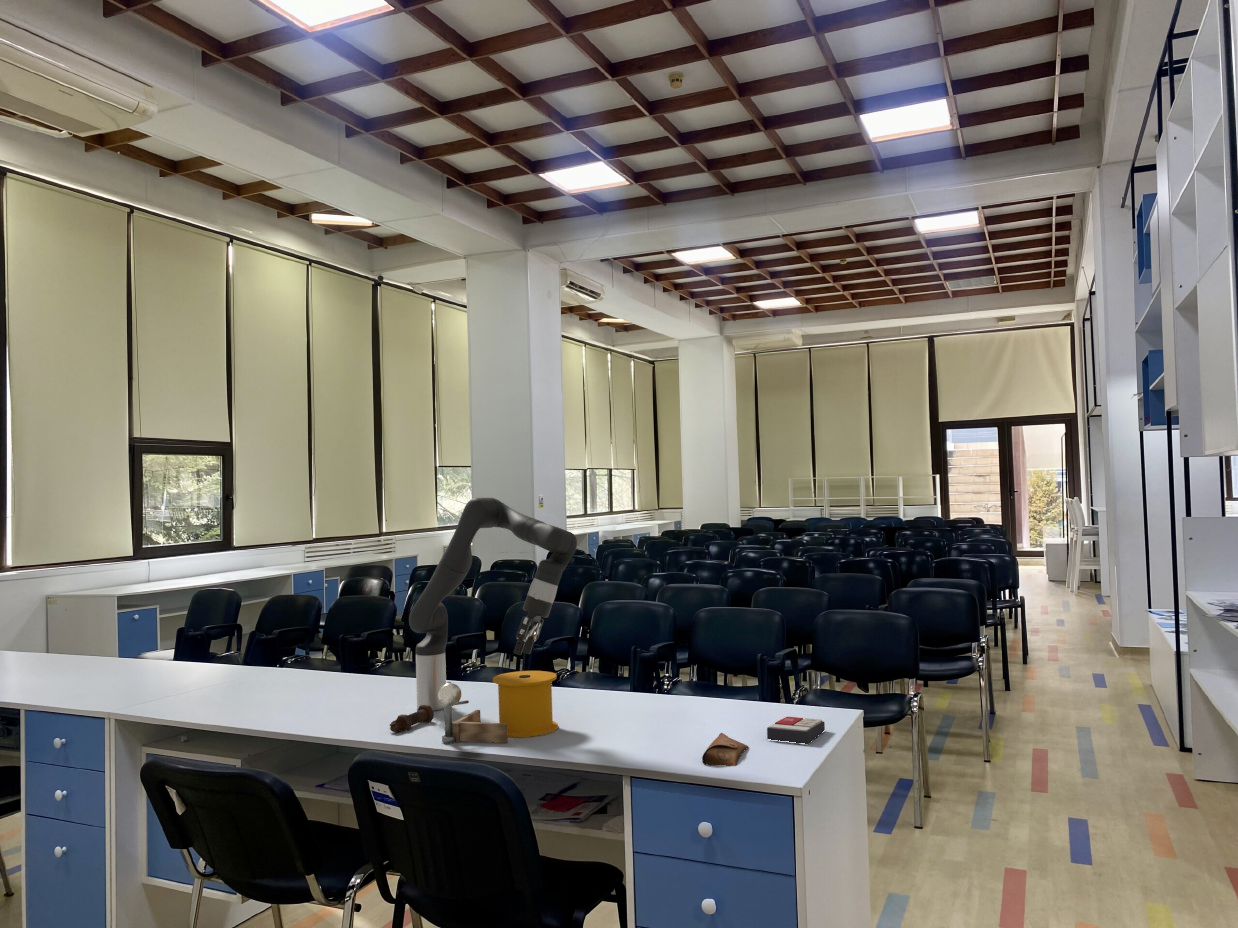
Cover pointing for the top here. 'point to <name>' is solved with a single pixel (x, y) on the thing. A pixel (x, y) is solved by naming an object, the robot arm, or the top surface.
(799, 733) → the dark grey box
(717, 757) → the sunglasses case
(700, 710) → the top surface
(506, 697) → the spool
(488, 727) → the wooden v-shaped bracket
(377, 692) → the top surface
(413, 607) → the robot arm
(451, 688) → the metal faucet
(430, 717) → the bolt
